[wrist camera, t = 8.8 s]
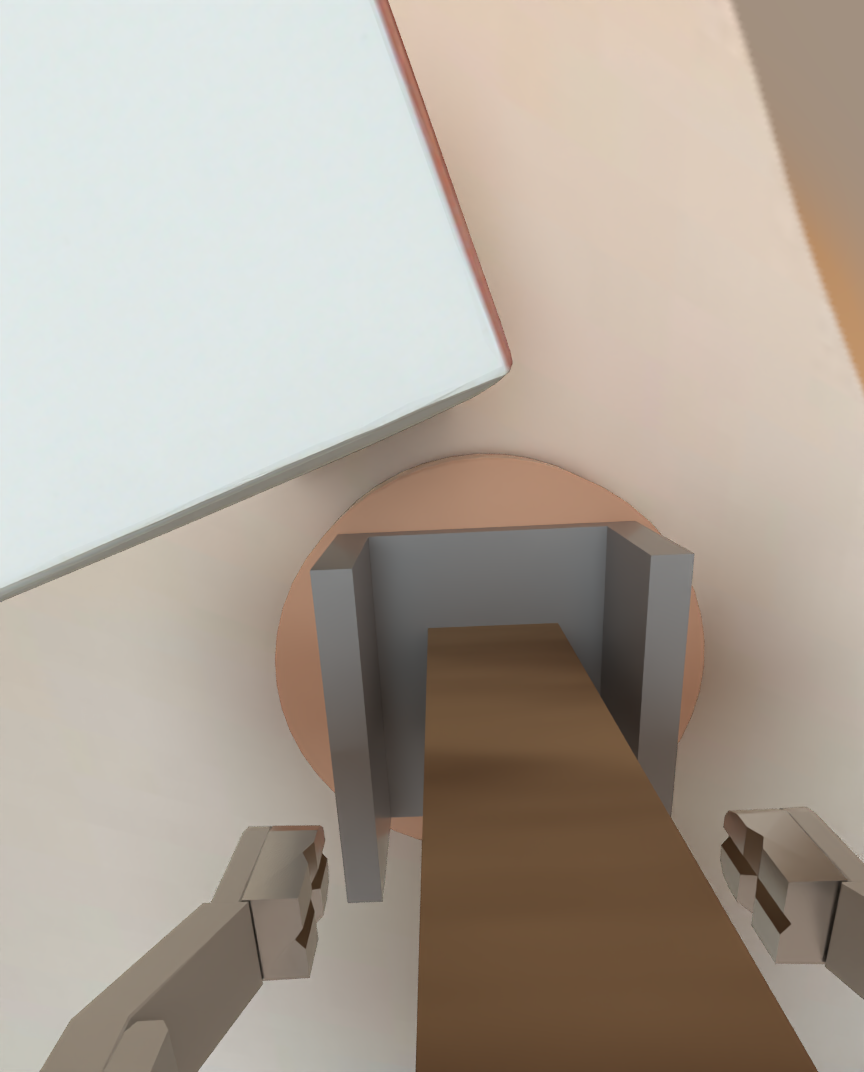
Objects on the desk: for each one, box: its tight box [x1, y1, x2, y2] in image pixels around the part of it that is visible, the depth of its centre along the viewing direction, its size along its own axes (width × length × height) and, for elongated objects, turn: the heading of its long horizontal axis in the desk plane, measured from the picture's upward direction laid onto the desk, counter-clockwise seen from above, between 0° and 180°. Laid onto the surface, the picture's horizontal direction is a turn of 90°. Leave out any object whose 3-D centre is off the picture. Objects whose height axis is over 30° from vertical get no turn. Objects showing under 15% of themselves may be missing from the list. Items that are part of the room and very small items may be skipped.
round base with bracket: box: [275, 454, 704, 903], centre depth 16 cm, size 14×14×6 cm
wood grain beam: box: [416, 623, 818, 1072], centre depth 10 cm, size 4×4×12 cm
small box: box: [0, 0, 512, 602], centre depth 10 cm, size 8×6×13 cm
